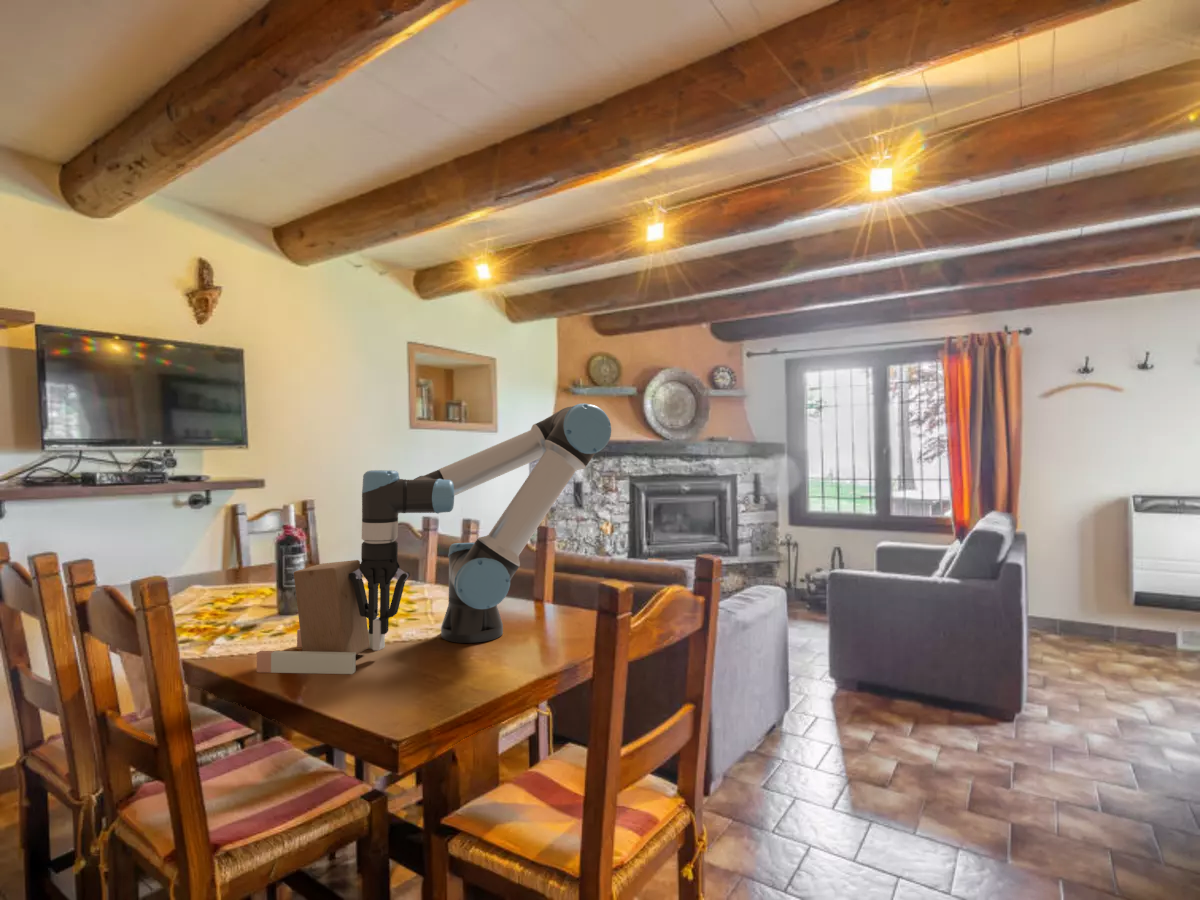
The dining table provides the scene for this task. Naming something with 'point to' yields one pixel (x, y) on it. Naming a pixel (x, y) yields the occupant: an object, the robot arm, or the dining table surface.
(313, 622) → the wooden block
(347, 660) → the white bars
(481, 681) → the dining table surface
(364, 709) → the dining table surface
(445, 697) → the dining table surface
